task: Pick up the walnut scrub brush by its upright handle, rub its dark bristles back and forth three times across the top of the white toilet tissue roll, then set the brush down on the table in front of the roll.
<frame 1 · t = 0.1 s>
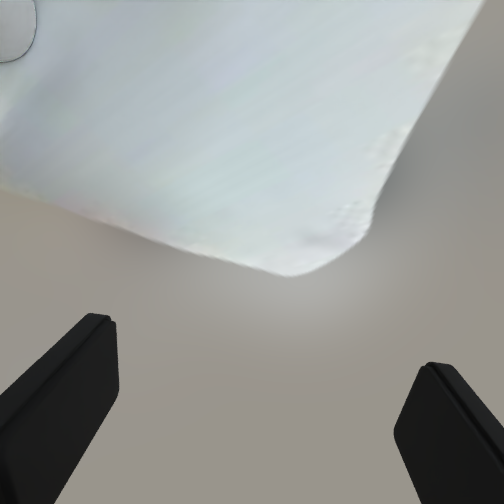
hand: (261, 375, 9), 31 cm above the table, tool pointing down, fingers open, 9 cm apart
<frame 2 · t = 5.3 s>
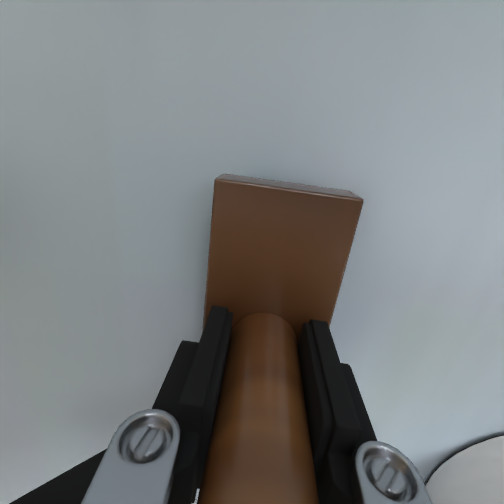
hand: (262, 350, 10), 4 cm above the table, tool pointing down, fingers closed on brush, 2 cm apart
brush: (264, 298, 13), on the table, touching gripper
toilet tissue: (501, 492, 17), on the table
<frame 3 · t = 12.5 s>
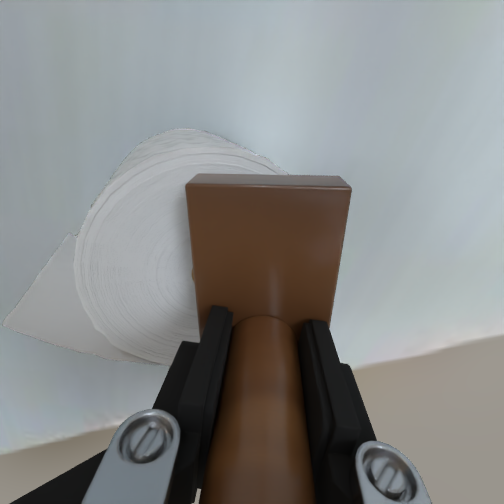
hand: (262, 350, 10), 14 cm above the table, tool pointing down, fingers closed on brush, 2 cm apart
brush: (264, 293, 13), point 11 cm above the table, touching gripper, toilet tissue
toilet tissue: (184, 212, 21), point 2 cm above the table, touching brush
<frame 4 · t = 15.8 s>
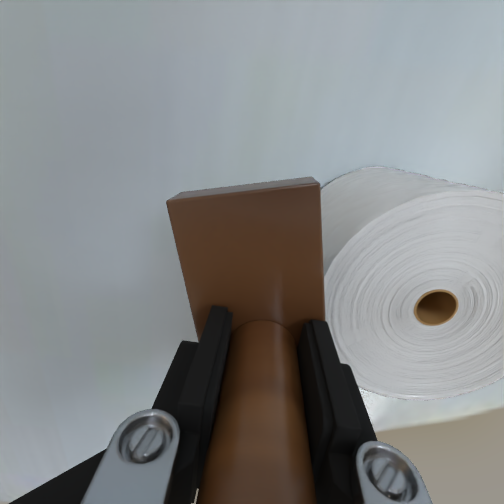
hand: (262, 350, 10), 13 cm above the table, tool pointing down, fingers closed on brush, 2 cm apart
brush: (263, 303, 13), point 10 cm above the table, touching gripper
toilet tissue: (357, 243, 22), on the table
when the fingers open (3 cm above the table, at t = 27.4 s): brush stays where it is, on the table.
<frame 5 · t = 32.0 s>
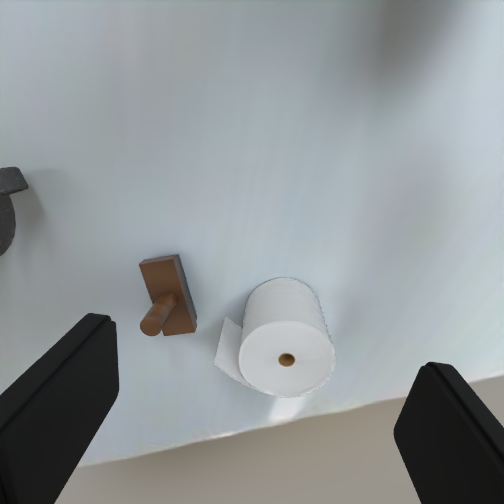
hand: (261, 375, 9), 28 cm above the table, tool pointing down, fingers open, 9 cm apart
brush: (175, 289, 40), on the table
toilet tissue: (278, 312, 41), on the table
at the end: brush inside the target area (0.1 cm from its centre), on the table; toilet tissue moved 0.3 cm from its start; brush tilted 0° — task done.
